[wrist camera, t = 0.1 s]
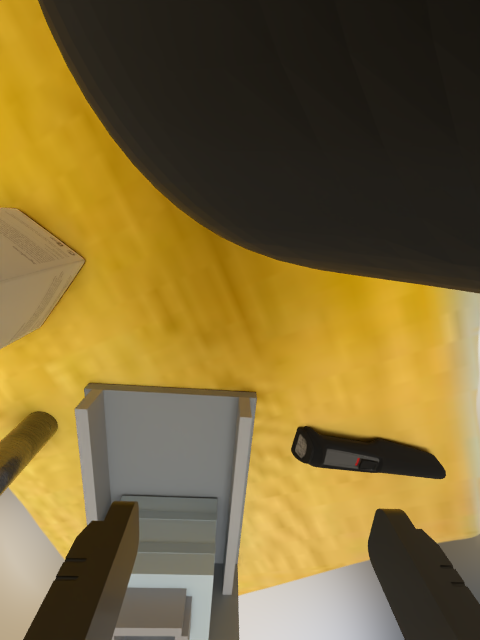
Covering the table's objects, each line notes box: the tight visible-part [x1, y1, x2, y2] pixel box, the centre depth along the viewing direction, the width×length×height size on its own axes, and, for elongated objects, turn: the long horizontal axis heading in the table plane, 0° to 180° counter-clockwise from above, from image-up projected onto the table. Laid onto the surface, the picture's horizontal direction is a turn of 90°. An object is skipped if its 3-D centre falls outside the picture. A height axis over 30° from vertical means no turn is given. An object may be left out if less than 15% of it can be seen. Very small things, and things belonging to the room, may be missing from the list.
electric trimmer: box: [291, 426, 446, 479], centre depth 29 cm, size 4×16×3 cm, turn 78°
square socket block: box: [112, 496, 217, 640], centre depth 27 cm, size 10×10×10 cm
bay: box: [75, 383, 257, 640], centre depth 26 cm, size 24×16×9 cm, turn 176°
